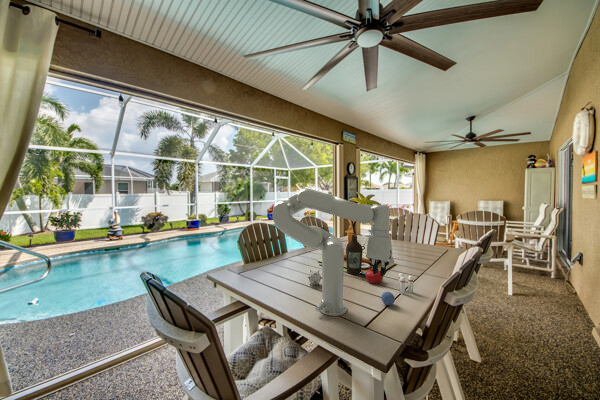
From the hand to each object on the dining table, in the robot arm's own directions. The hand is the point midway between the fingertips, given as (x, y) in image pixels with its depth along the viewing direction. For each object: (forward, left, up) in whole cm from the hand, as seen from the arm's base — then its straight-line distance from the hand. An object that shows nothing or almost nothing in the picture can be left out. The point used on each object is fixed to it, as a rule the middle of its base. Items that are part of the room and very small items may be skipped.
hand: (379, 274), depth 105 cm
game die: (+2, +40, -17) cm, 44 cm away
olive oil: (+36, +35, -17) cm, 53 cm away
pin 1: (+31, +3, -17) cm, 36 cm away
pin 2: (+31, -2, -17) cm, 36 cm away
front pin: (+26, 0, -17) cm, 32 cm away
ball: (+10, 0, -14) cm, 17 cm away
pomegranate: (+30, +18, -17) cm, 39 cm away
